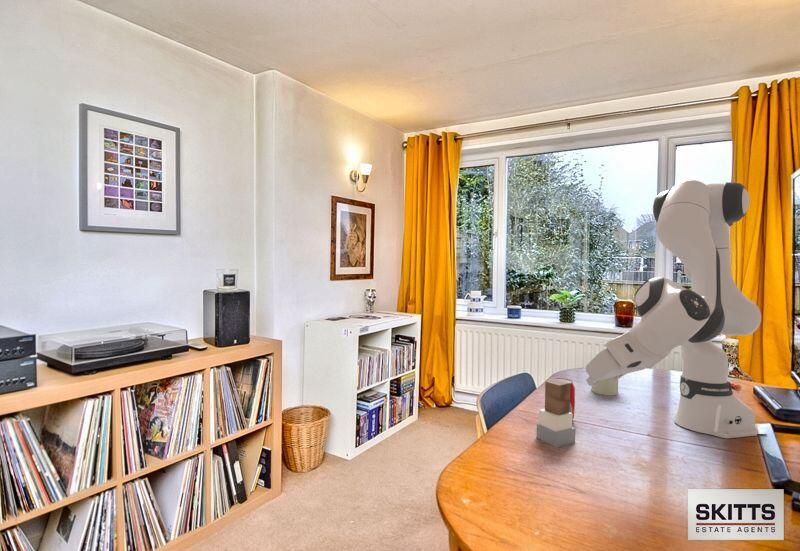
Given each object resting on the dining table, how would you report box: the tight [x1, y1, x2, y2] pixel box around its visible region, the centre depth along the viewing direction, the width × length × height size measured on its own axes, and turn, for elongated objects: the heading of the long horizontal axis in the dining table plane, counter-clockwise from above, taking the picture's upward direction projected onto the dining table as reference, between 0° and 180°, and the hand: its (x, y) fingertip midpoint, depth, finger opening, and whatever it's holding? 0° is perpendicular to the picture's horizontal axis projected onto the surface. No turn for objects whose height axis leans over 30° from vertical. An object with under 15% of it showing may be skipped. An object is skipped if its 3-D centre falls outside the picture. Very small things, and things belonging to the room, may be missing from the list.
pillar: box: [544, 378, 570, 415], centre depth 120 cm, size 4×4×8 cm
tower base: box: [536, 423, 576, 448], centre depth 120 cm, size 7×7×4 cm
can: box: [590, 377, 619, 396], centre depth 164 cm, size 9×9×12 cm
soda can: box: [552, 377, 576, 421], centre depth 135 cm, size 7×7×12 cm
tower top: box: [538, 408, 573, 432], centre depth 120 cm, size 6×6×4 cm
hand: (602, 379), depth 108 cm, fingers open, 8 cm apart
